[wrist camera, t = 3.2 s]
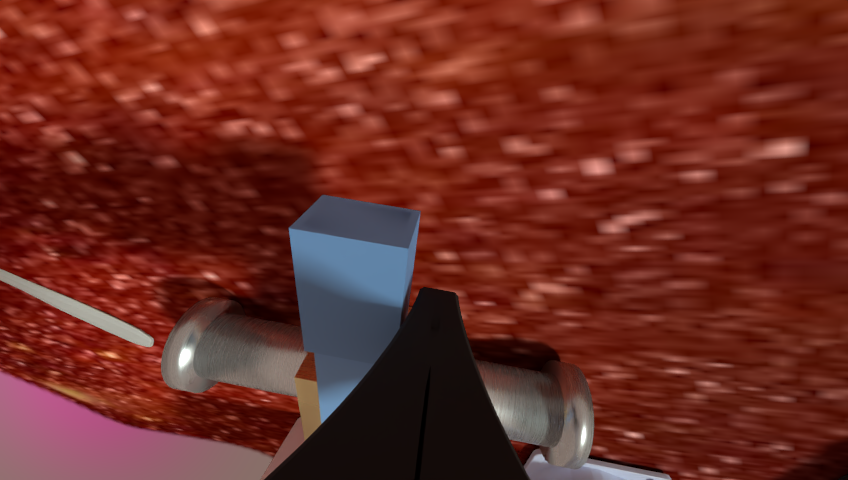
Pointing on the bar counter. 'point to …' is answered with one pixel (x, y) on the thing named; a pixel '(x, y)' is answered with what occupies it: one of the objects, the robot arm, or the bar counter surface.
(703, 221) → the bar counter surface
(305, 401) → the valve pipe
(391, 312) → the lever
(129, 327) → the butter knife
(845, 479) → the pastry
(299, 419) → the smoothie
